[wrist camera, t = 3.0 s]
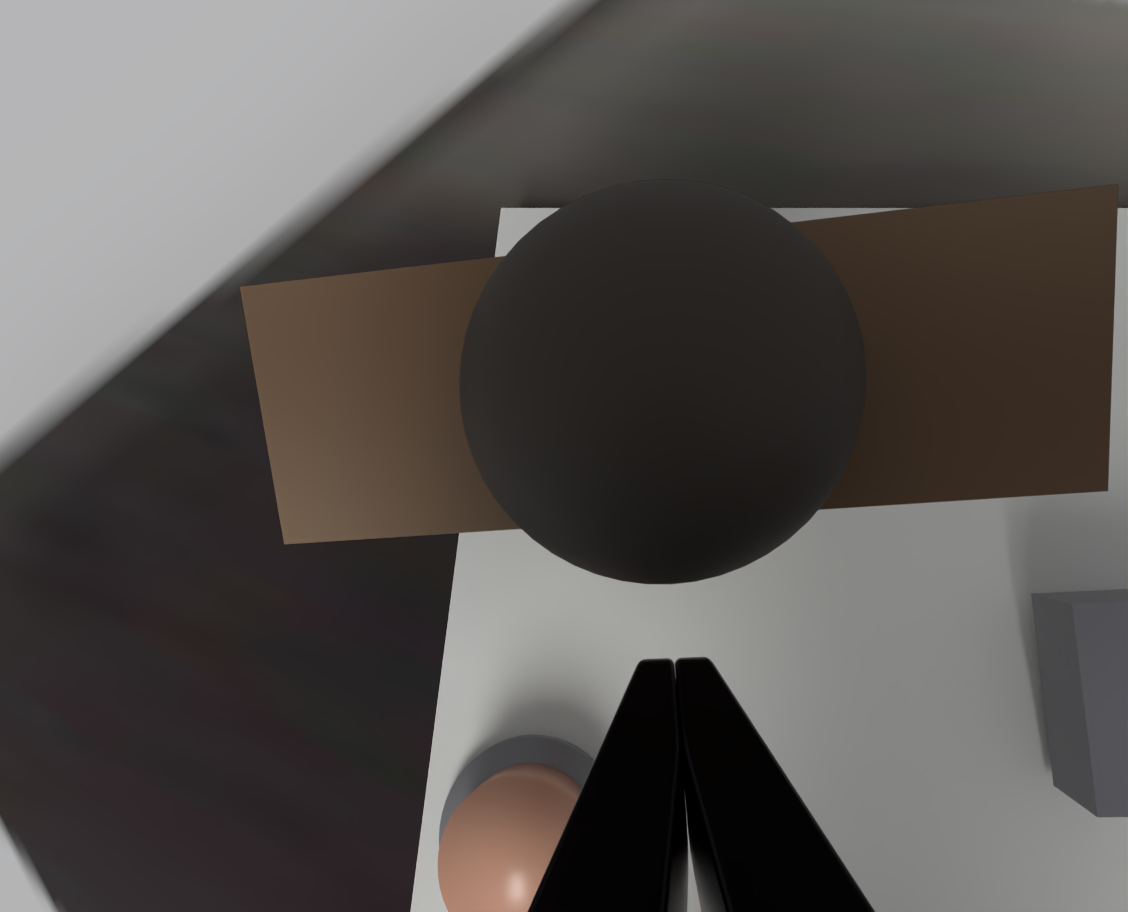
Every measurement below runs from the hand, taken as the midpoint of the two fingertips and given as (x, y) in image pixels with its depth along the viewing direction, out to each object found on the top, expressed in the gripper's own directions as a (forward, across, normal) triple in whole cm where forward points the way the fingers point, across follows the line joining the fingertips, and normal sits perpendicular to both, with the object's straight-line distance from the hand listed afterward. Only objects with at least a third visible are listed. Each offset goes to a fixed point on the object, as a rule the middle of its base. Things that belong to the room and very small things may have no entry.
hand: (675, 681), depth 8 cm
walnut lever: (+12, 0, +1) cm, 12 cm away
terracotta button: (+4, +4, +10) cm, 11 cm away
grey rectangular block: (+5, -10, +7) cm, 13 cm away
